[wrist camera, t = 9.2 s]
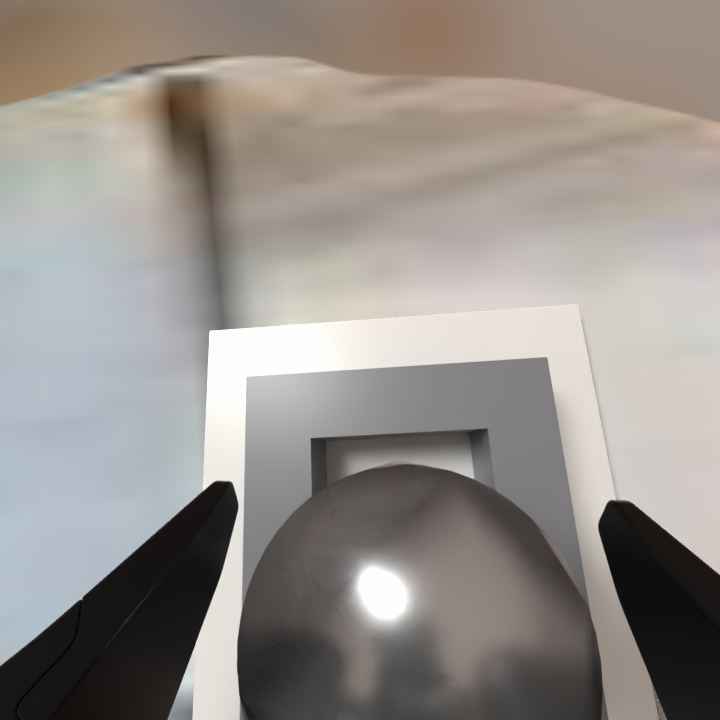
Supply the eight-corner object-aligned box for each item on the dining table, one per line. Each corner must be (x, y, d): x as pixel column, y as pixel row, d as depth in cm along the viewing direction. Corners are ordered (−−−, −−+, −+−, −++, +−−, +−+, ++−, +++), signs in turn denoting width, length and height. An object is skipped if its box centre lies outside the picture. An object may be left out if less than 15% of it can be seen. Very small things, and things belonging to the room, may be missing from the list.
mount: (650, 745, 15) (753, 861, 11) (202, 747, 16) (134, 852, 12) (568, 311, 20) (619, 270, 15) (218, 336, 21) (172, 305, 16)
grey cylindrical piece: (475, 537, 16) (687, 750, 4) (382, 593, 16) (340, 976, 4) (418, 442, 18) (465, 405, 6) (331, 493, 17) (184, 568, 5)
